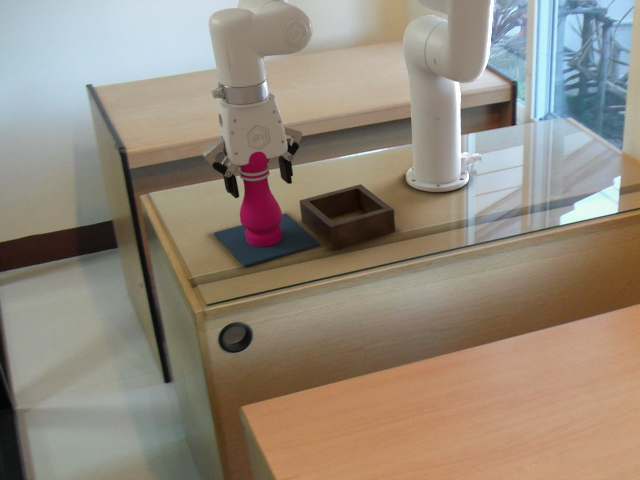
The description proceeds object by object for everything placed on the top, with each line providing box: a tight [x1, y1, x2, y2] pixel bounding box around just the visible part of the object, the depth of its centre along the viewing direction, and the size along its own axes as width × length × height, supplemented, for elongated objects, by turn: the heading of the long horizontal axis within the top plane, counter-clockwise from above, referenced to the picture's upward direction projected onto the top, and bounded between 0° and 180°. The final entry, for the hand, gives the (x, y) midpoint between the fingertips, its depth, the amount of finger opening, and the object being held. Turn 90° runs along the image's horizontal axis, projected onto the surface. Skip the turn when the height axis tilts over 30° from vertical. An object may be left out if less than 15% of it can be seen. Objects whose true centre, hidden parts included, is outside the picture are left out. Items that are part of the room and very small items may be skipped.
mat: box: [213, 212, 320, 268], centre depth 167 cm, size 14×14×1 cm
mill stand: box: [298, 183, 396, 251], centre depth 171 cm, size 13×13×4 cm
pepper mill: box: [238, 152, 283, 247], centre depth 161 cm, size 7×7×20 cm
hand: (260, 188), depth 162 cm, fingers open, 9 cm apart
